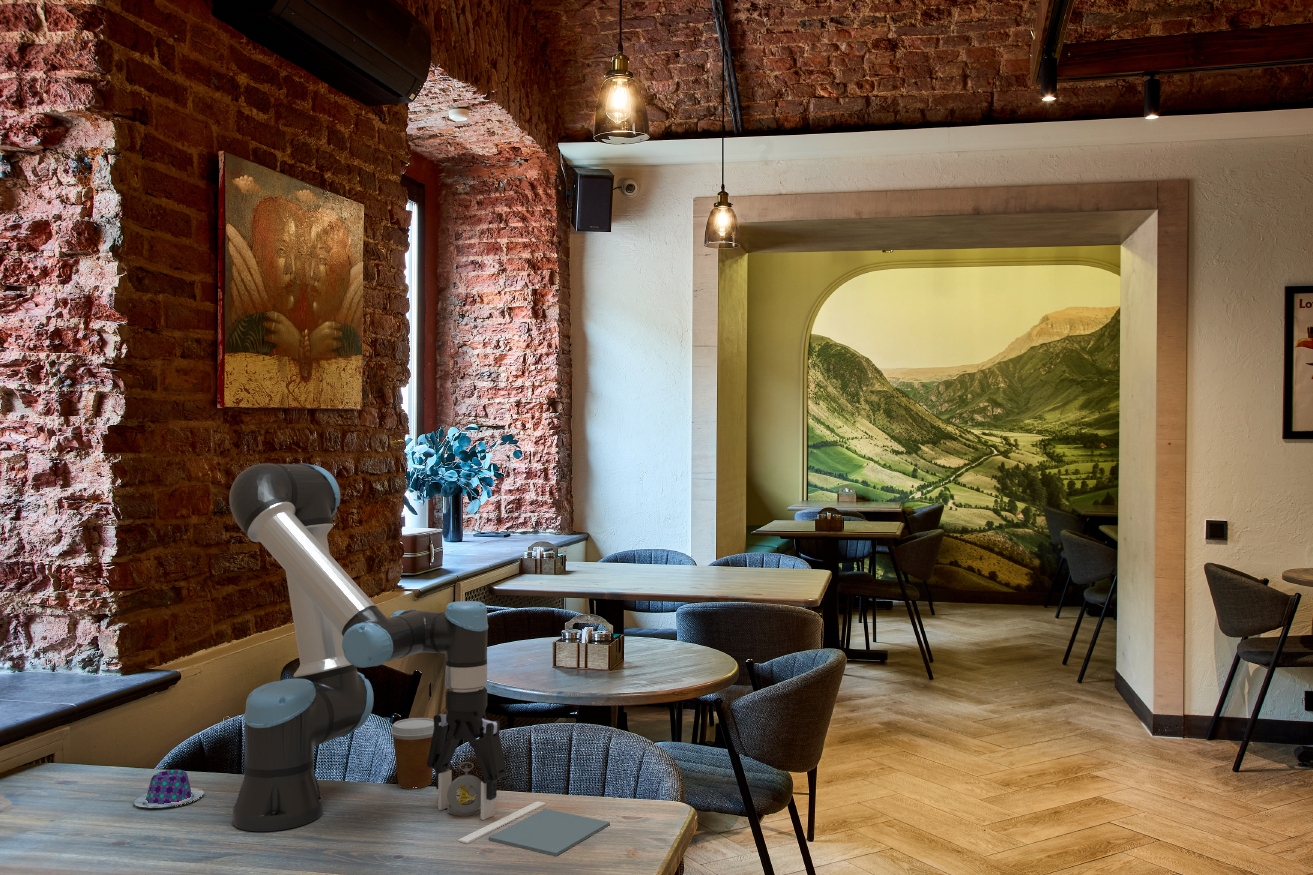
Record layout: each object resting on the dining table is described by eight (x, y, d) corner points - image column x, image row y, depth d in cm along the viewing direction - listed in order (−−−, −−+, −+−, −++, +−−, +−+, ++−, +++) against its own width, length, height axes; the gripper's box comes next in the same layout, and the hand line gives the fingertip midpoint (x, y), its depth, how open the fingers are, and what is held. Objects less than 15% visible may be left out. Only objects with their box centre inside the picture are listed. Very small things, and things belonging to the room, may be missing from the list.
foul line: (458, 841, 160) (458, 839, 160) (537, 802, 179) (537, 801, 179) (467, 843, 159) (467, 841, 159) (545, 804, 178) (545, 802, 178)
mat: (488, 839, 160) (488, 836, 160) (545, 811, 174) (545, 808, 174) (556, 856, 153) (556, 852, 153) (609, 824, 167) (609, 821, 167)
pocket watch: (471, 802, 179) (471, 748, 179) (497, 813, 173) (497, 757, 173) (433, 813, 173) (433, 757, 174) (458, 825, 167) (459, 767, 168)
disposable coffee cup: (426, 793, 184) (427, 730, 185) (381, 789, 186) (382, 727, 187) (447, 778, 194) (447, 718, 194) (403, 775, 195) (404, 716, 196)
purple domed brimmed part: (217, 792, 186) (217, 765, 186) (176, 814, 174) (177, 784, 174) (161, 789, 187) (162, 762, 188) (117, 810, 176) (118, 781, 176)
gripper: (527, 689, 172) (526, 816, 171) (435, 677, 183) (434, 796, 182) (500, 698, 165) (500, 829, 164) (407, 685, 176) (406, 808, 175)
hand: (465, 812), depth 173 cm, fingers open, 9 cm apart
